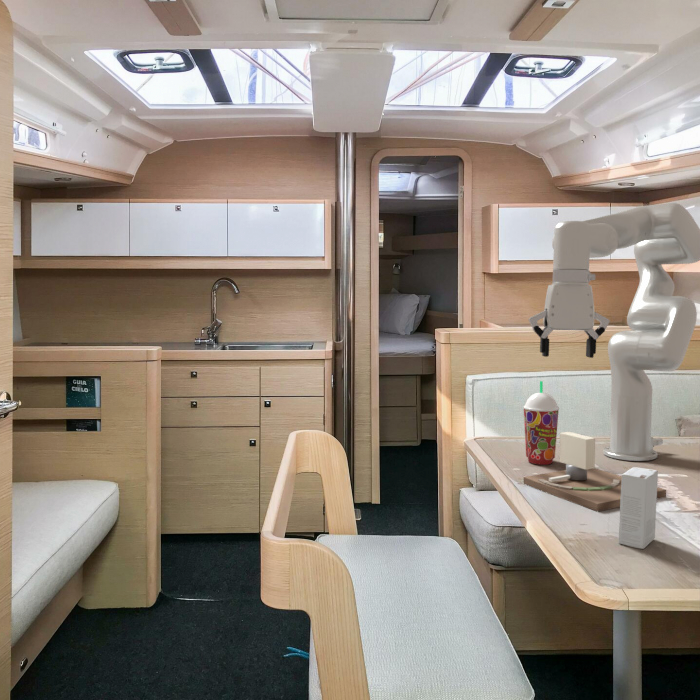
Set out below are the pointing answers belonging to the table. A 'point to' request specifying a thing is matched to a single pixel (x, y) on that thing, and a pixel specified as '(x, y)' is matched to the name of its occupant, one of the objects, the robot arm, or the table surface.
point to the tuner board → (585, 488)
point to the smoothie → (540, 427)
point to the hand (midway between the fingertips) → (567, 356)
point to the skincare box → (638, 507)
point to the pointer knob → (576, 456)
